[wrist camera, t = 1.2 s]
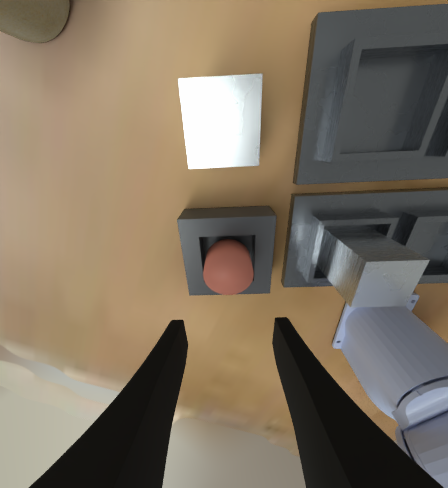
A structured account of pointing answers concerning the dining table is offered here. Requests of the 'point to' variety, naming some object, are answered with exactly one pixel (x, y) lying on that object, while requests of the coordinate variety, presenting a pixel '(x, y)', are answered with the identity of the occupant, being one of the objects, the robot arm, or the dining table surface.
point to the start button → (228, 267)
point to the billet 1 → (222, 120)
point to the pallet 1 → (375, 96)
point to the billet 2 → (369, 266)
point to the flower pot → (33, 18)
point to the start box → (227, 227)
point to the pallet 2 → (374, 216)
